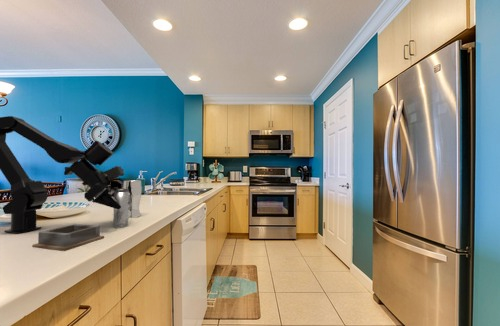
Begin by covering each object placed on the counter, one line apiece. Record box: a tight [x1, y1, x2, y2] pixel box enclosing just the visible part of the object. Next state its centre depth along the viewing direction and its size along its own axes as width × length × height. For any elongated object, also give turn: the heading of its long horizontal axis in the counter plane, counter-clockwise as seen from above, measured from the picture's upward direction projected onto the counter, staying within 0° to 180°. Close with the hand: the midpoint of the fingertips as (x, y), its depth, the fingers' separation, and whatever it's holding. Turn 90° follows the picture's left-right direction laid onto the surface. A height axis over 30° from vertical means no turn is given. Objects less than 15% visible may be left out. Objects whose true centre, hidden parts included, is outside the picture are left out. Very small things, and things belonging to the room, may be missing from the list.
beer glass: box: [123, 179, 143, 219], centre depth 98 cm, size 7×7×15 cm
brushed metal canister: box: [112, 188, 129, 229], centre depth 81 cm, size 4×4×13 cm
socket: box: [32, 223, 105, 252], centre depth 63 cm, size 11×11×4 cm
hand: (124, 206), depth 81 cm, fingers open, 9 cm apart
